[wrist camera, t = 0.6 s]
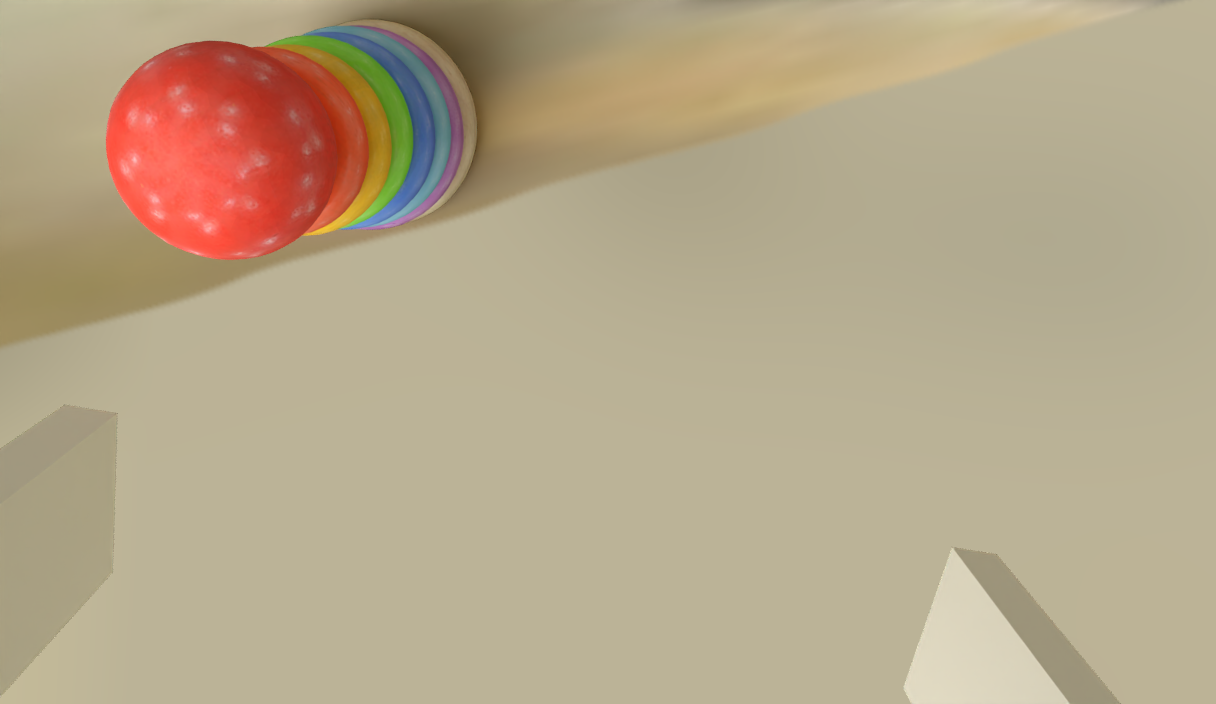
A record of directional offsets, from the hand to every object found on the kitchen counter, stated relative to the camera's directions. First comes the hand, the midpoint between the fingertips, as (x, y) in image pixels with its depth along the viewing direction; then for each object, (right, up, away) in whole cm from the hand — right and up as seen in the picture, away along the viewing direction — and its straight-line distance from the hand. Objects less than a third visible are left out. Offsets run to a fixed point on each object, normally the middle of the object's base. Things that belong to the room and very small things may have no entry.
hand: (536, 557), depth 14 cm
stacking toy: (-8, +13, +23) cm, 28 cm away
